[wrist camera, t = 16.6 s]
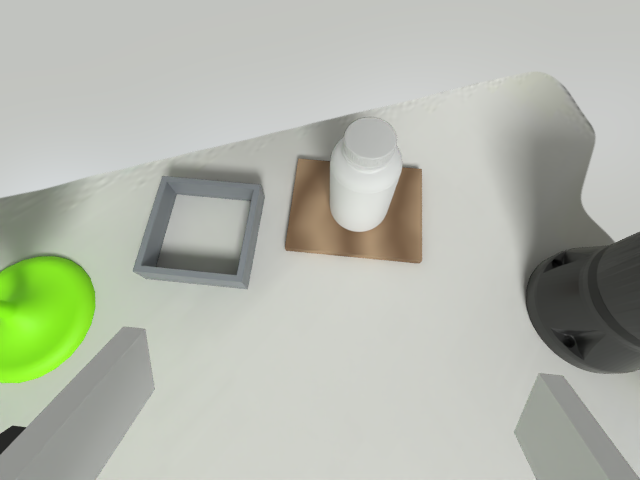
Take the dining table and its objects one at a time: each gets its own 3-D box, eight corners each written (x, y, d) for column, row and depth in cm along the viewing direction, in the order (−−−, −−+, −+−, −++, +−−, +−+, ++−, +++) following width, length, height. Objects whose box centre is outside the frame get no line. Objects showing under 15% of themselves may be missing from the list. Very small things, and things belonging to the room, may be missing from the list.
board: (419, 173, 52) (421, 169, 51) (419, 263, 47) (421, 260, 45) (298, 163, 53) (298, 158, 51) (285, 250, 47) (284, 247, 46)
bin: (264, 197, 50) (260, 184, 47) (247, 289, 45) (241, 282, 42) (172, 188, 51) (162, 175, 48) (146, 278, 46) (132, 271, 43)
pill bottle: (344, 173, 50) (352, 95, 36) (395, 196, 49) (424, 123, 35) (318, 218, 48) (316, 152, 34) (372, 243, 46) (393, 185, 32)
